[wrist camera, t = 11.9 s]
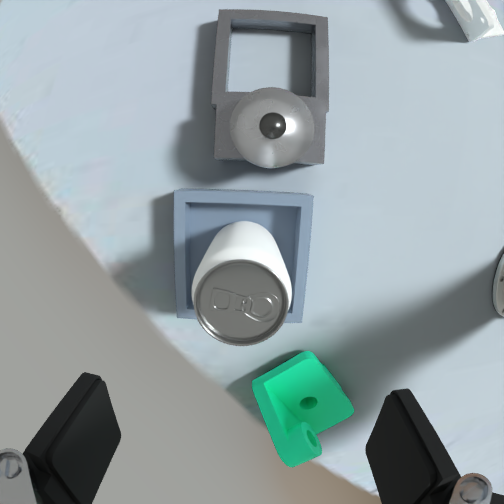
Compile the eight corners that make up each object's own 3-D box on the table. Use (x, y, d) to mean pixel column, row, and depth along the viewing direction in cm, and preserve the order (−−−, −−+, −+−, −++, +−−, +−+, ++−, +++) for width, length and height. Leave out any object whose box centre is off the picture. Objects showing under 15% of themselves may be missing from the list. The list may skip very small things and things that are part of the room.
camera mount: (351, 400, 35) (374, 455, 25) (302, 426, 36) (313, 484, 26) (307, 342, 33) (326, 403, 23) (251, 375, 34) (252, 439, 24)
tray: (307, 193, 28) (313, 195, 26) (297, 309, 31) (301, 322, 29) (181, 188, 28) (173, 190, 25) (182, 305, 31) (176, 317, 28)
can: (270, 290, 30) (282, 358, 19) (206, 279, 30) (181, 342, 18) (283, 226, 29) (307, 262, 17) (215, 214, 28) (193, 242, 17)
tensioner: (322, 26, 24) (338, -3, 18) (320, 172, 28) (339, 172, 22) (220, 19, 24) (214, -13, 18) (211, 167, 28) (200, 165, 22)
